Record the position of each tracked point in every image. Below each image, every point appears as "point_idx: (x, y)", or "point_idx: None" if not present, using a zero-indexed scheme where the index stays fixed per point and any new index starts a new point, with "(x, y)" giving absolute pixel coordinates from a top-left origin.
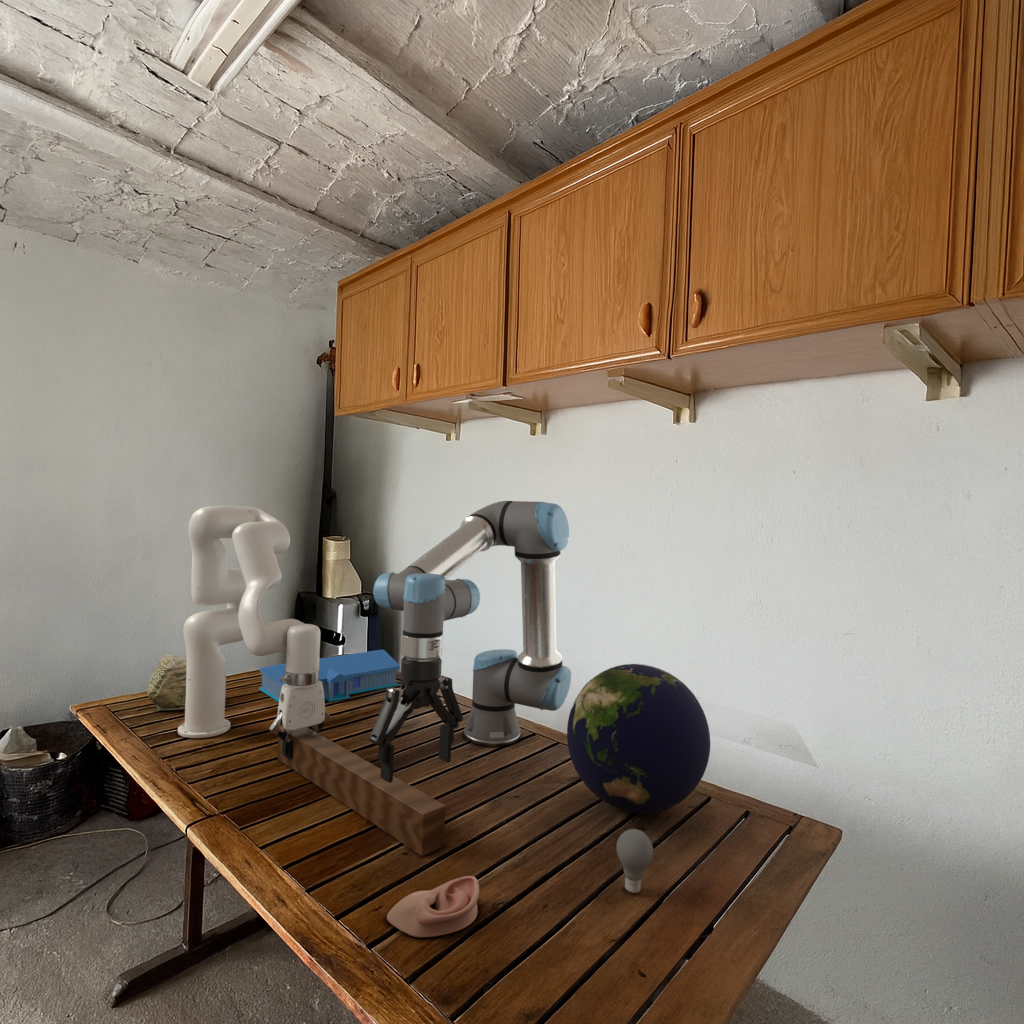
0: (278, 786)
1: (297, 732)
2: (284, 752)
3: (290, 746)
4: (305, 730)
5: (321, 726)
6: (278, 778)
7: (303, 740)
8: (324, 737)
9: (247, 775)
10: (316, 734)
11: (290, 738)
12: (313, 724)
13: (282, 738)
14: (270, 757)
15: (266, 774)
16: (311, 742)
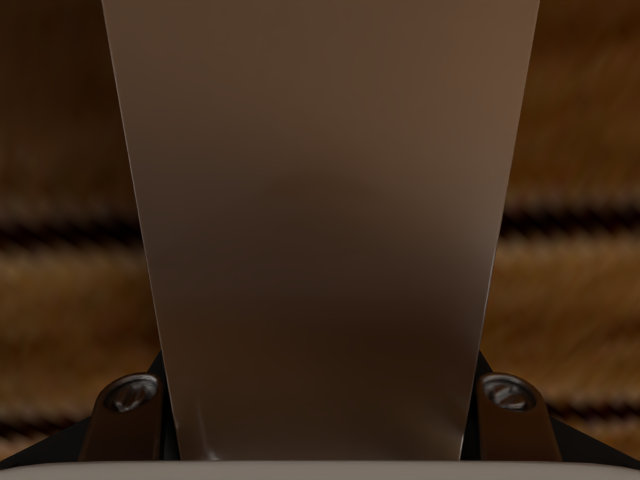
0: (619, 49)
1: None
2: None
3: None
4: None
5: (26, 461)
6: (535, 171)
7: (474, 189)
8: (124, 79)
9: (621, 322)
10: (189, 283)
11: (484, 403)
12: (157, 471)
13: (579, 434)
14: None
15: (545, 270)
16: (430, 7)
